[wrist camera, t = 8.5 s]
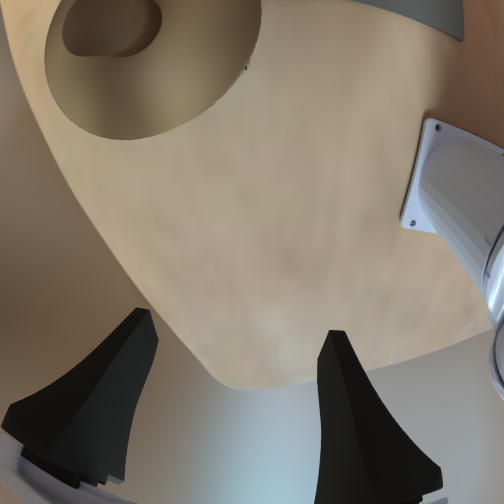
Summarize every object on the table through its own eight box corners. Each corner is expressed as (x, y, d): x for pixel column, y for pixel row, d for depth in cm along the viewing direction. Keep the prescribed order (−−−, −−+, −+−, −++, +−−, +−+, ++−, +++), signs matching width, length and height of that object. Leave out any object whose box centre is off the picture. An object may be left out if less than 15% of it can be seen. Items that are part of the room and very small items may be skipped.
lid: (274, -67, 5) (271, -105, 2) (246, 143, 12) (233, 167, 9) (68, -31, 6) (26, -39, 2) (54, 139, 12) (10, 162, 9)
